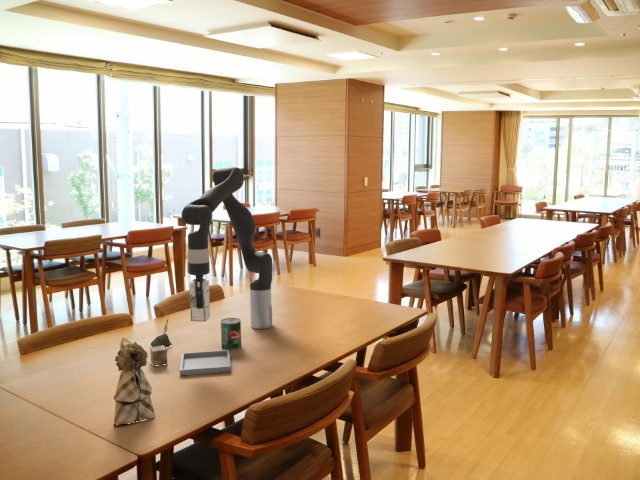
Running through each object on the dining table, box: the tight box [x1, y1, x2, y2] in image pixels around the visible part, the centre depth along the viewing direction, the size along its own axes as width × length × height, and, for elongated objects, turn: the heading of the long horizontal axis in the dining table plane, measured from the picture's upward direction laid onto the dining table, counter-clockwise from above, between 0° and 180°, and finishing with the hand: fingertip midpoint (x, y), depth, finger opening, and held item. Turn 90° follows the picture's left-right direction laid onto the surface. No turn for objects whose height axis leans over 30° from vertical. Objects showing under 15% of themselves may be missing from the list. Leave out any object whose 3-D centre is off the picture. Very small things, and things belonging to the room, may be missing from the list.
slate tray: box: [179, 349, 232, 376], centre depth 218 cm, size 18×18×2 cm
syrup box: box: [189, 279, 211, 323], centre depth 216 cm, size 6×6×14 cm
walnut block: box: [149, 345, 168, 367], centre depth 220 cm, size 5×5×6 cm
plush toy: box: [112, 336, 156, 426], centre depth 176 cm, size 14×14×25 cm
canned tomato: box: [220, 317, 242, 351], centre depth 237 cm, size 8×8×11 cm
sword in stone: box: [150, 318, 173, 348], centre depth 239 cm, size 10×8×12 cm
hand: (200, 305), depth 216 cm, fingers closed on syrup box, 6 cm apart
